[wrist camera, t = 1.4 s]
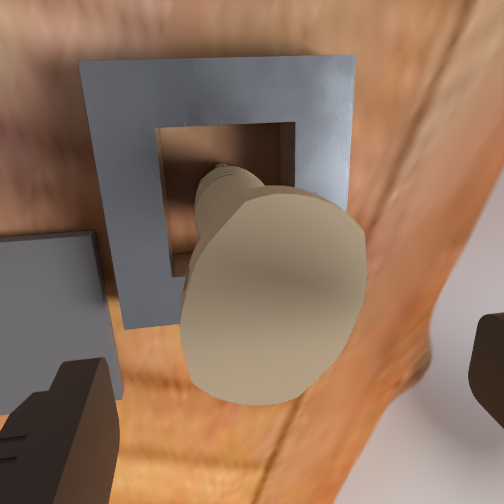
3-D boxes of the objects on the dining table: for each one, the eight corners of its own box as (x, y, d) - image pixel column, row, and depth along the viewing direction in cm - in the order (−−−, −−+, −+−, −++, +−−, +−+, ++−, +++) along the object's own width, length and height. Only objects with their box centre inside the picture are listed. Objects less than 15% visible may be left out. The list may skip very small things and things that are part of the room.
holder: (93, 65, 21) (77, 60, 18) (332, 59, 23) (355, 54, 20) (131, 300, 26) (124, 329, 23) (323, 282, 28) (341, 306, 25)
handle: (173, 228, 25) (159, 393, 11) (198, 124, 23) (219, 171, 9) (247, 245, 26) (315, 414, 12) (277, 148, 24) (399, 220, 11)
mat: (-127, 246, 23) (-140, 253, 22) (94, 230, 24) (90, 235, 23) (-60, 412, 27) (-68, 424, 26) (123, 389, 29) (121, 399, 28)
